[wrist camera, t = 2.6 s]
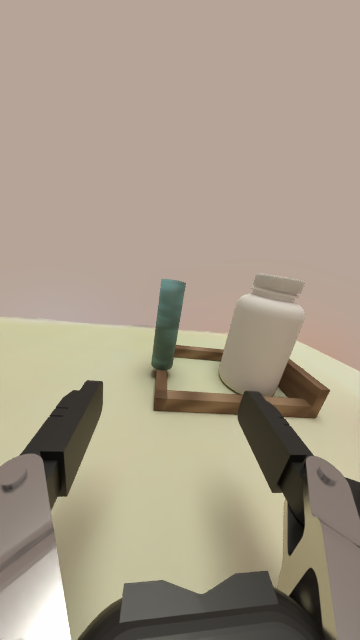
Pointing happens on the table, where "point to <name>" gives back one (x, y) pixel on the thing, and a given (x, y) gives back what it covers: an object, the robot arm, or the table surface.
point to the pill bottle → (262, 335)
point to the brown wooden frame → (294, 382)
